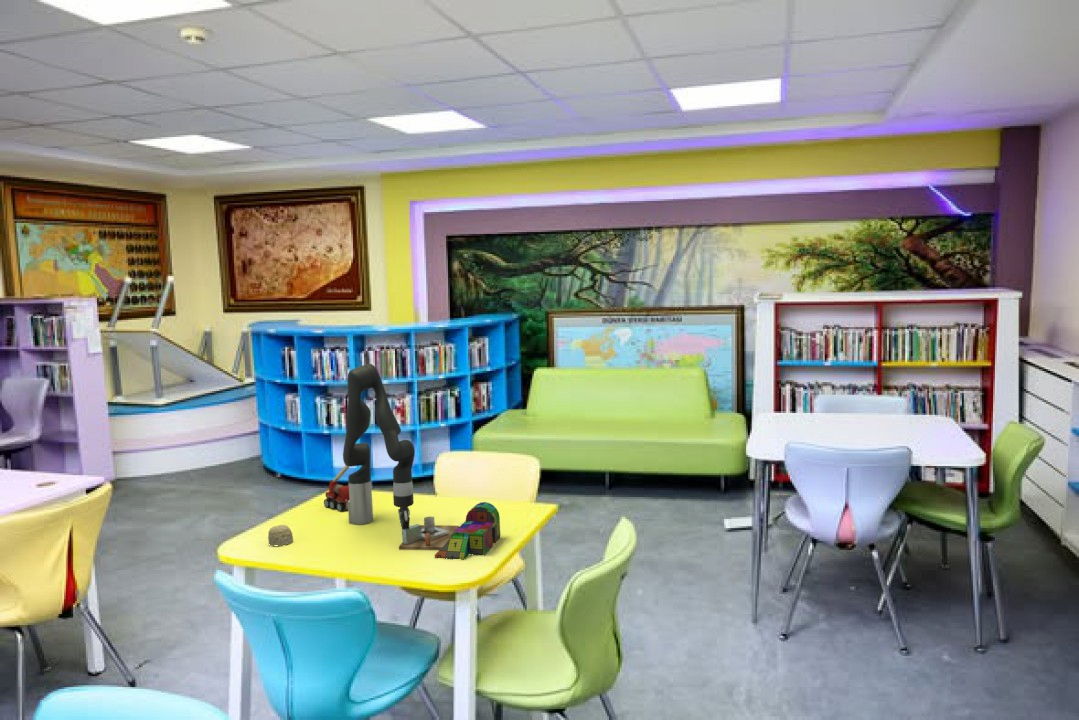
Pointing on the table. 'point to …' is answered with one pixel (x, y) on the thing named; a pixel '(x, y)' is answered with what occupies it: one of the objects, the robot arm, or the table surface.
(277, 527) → the brown rock
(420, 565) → the table surface
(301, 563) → the table surface
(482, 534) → the toy block train
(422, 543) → the flange base
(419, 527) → the flange plate
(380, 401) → the robot arm
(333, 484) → the toy fire truck
